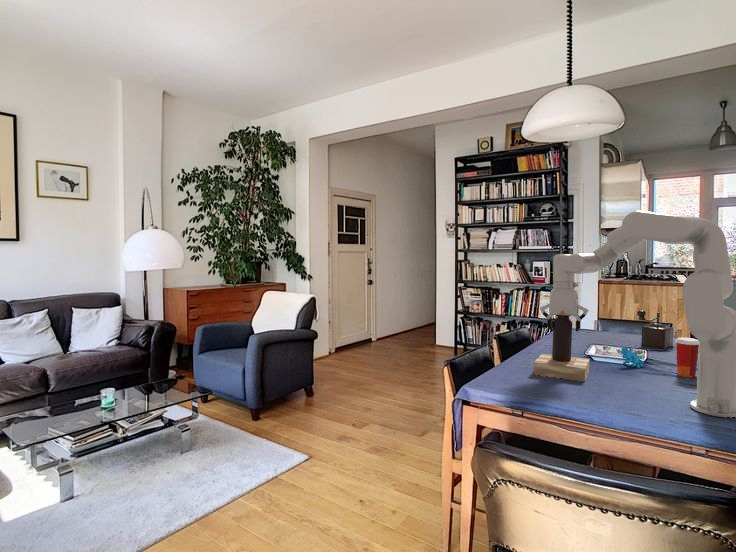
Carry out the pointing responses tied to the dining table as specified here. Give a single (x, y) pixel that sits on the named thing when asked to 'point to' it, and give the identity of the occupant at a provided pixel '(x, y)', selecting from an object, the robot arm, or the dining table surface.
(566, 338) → the vinegar
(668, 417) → the dining table surface
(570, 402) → the dining table surface
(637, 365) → the blue lumpy piece
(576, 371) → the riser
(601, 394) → the dining table surface
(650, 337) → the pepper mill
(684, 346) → the paper cup
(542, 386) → the dining table surface
